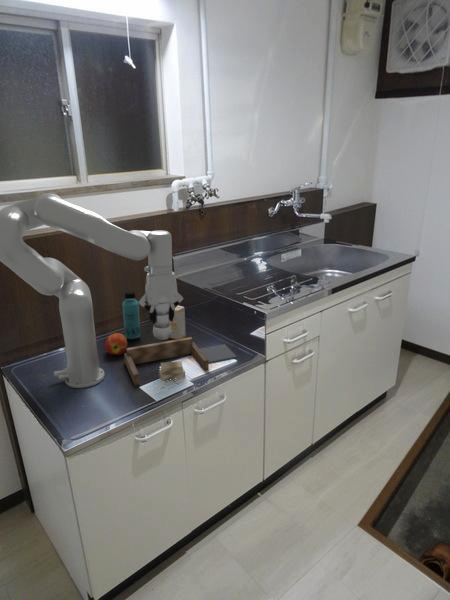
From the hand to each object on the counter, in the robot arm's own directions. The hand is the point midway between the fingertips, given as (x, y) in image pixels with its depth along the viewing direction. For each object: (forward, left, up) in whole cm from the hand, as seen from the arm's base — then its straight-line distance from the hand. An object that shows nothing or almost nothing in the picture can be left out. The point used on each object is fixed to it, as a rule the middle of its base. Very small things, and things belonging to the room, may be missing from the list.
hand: (161, 320), depth 143 cm
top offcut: (0, -8, -15) cm, 17 cm away
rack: (0, -1, -17) cm, 17 cm away
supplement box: (+10, +22, -18) cm, 30 cm away
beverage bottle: (-6, +26, -17) cm, 32 cm away
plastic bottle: (0, 0, -7) cm, 7 cm away
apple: (-14, +16, -18) cm, 27 cm away
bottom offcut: (0, -8, -18) cm, 19 cm away
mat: (+20, +1, -17) cm, 27 cm away
